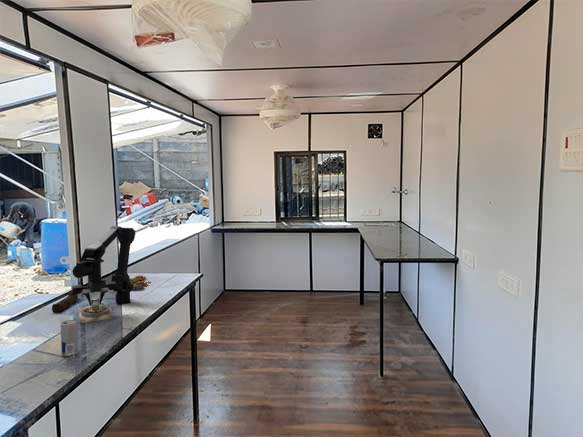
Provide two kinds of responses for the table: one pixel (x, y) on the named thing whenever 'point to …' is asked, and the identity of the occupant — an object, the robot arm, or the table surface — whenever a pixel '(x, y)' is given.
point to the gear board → (95, 316)
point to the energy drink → (69, 337)
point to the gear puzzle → (138, 283)
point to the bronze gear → (95, 307)
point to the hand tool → (64, 303)
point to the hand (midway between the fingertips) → (95, 305)
